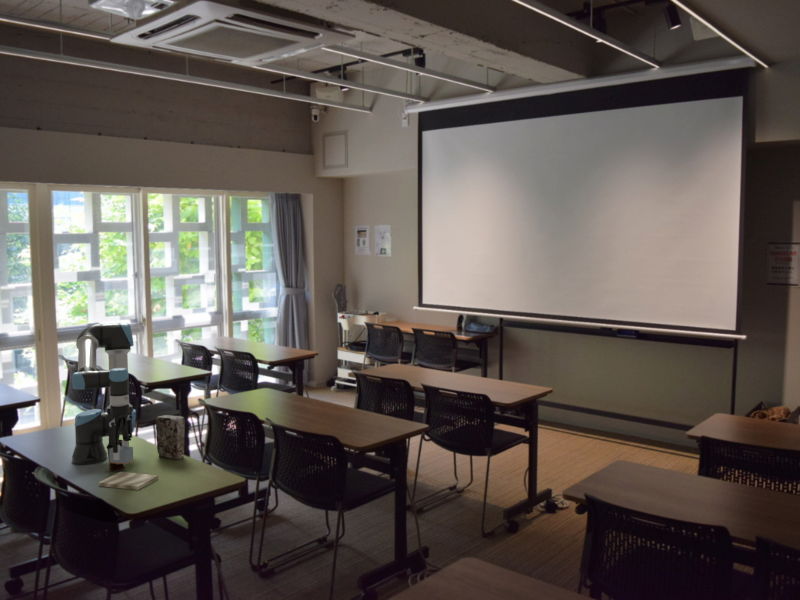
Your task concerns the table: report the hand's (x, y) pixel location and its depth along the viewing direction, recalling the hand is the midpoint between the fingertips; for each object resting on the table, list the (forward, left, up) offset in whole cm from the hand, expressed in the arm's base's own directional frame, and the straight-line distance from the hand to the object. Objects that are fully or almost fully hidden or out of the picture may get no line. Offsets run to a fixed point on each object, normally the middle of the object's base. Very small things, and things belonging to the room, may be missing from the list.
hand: (121, 457), depth 288 cm
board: (+3, 0, -11) cm, 11 cm away
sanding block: (0, 0, -2) cm, 2 cm away
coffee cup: (-12, +13, -11) cm, 21 cm away
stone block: (+1, +35, -11) cm, 37 cm away
